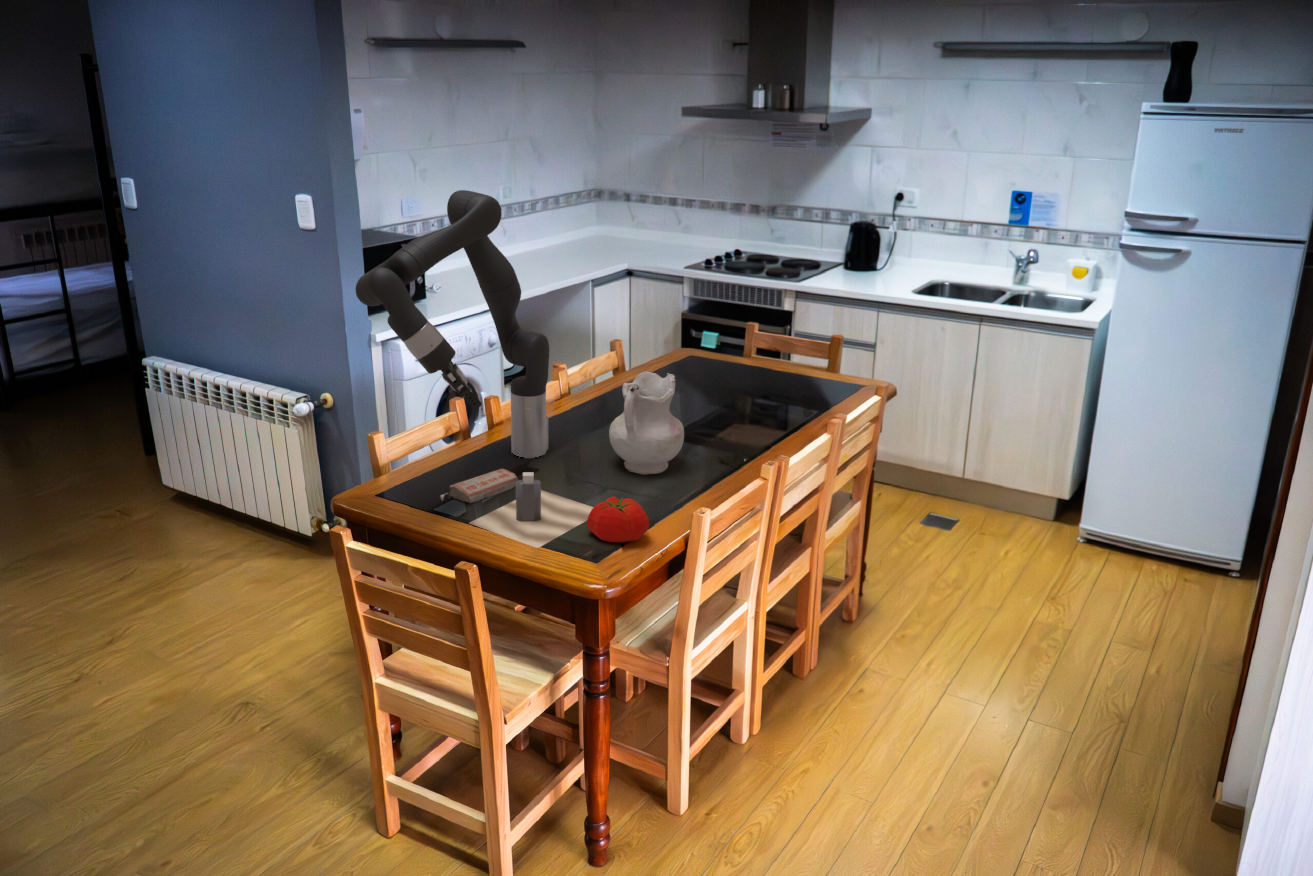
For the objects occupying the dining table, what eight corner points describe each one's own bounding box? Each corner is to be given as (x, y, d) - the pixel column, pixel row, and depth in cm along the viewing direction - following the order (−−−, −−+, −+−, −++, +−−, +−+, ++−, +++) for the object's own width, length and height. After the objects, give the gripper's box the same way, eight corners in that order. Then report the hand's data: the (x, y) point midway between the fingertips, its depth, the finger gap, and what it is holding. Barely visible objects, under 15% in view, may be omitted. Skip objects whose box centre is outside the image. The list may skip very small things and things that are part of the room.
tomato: (648, 525, 230) (649, 490, 227) (649, 550, 219) (650, 514, 216) (587, 524, 230) (588, 488, 227) (585, 549, 218) (586, 512, 215)
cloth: (537, 493, 244) (537, 488, 244) (604, 515, 234) (604, 510, 234) (468, 527, 226) (468, 523, 225) (537, 553, 215) (537, 548, 215)
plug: (516, 515, 230) (515, 471, 226) (540, 515, 230) (540, 471, 226) (516, 521, 227) (515, 476, 223) (541, 521, 227) (540, 476, 223)
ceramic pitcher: (670, 491, 251) (682, 398, 242) (595, 477, 254) (604, 384, 245) (685, 460, 271) (697, 373, 262) (615, 447, 274) (624, 360, 265)
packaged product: (498, 463, 250) (524, 475, 244) (499, 481, 252) (525, 493, 245) (438, 482, 237) (465, 495, 231) (439, 501, 239) (465, 514, 233)
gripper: (445, 342, 211) (493, 399, 217) (440, 330, 224) (486, 384, 230) (416, 364, 211) (466, 421, 217) (413, 351, 224) (460, 405, 230)
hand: (476, 402), depth 224 cm, fingers open, 8 cm apart
